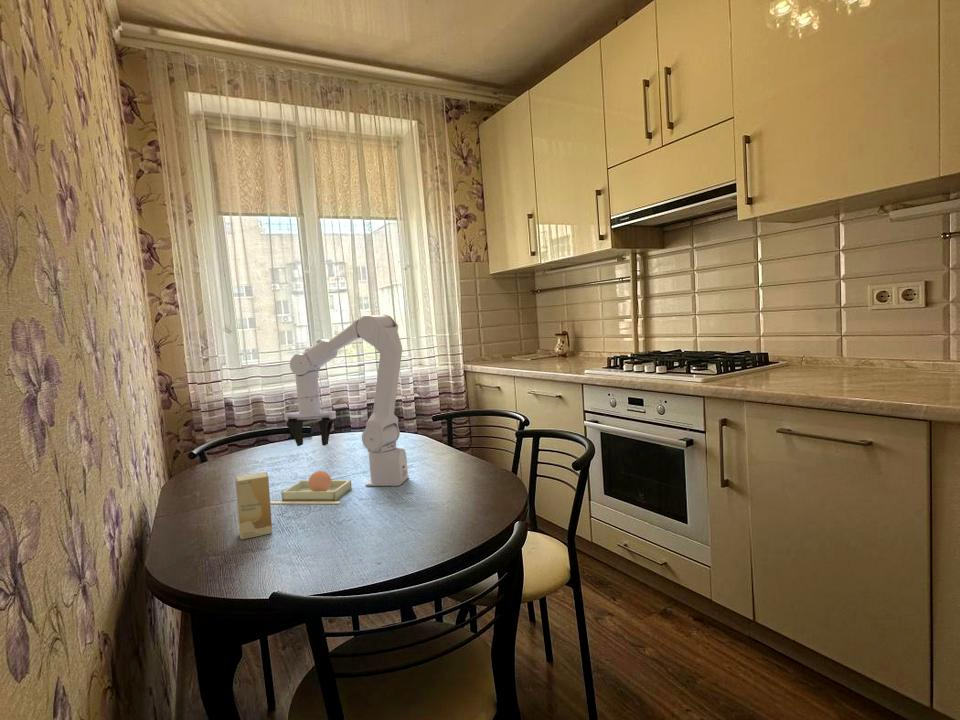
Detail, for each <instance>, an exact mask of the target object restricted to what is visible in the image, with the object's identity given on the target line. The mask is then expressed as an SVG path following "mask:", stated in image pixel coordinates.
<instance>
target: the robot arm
mask: <svg viewBox="0 0 960 720" xmlns="http://www.w3.org/2000/svg"><path fill="white" fill-rule="evenodd" d="M358 339H362V340H364V341H365V342H367V343H368V344H369V345H371V346H372V347H374V348H375V349H376V350H377V352H378V353H379V361H378V368H377V369H378V370H377V376H376V377H377V378H376V386H375V391H374V392H375V394H374V401H373V410H372V413H371V415H370V417H369V418H368V420H366V425H365V429H364V430H363V432H362V434H361V442H362V444H363V446H364V447H365V449H367V452H368V460H369V463H368V464H369V474H370V475H369V476H370V480H368V481H367V482H366V483H365V484H364V485H365V486H367V487H370V486H371V487H373V486H374V487H376V486H377V487H378V486H381V487H382V486H383V487H384V486H385V487H389V486H391V487H392V486H393V487H398V486H401V485H402V484H403V483H404V482H405V481H407V480H408V478H409V477H410V475H409V473H408V459H407V452H406V450H405V449H404V448H398V447H397V441H398V440H399V438H400V435H401V432H400V428H399V417H397V415H395V408H396V401H397V400H396V399H397V392H398V386H399V378H400V371H401V362H402V354H403V345H402V342H401V338H400V336H399V324H398V323H397V322H396V321H395V320H394V318H393V317H392V316H390V315H388V314H381V315H368V314H366V315H365V314H364V315H362V316H361V317H360V318H358V319H356V320H354V321H352V323H351V324H350V325H348V326H347V327H345V329H343V330H341V331H340V332H339V333H338V334H337V335H335V336H334V337H332V338H331V339H327V338H321V339H320V338H319V339H318V340H317V341H316V344H315V345H313V346H312V347H309V348H305V349H304V352H303V353H296V354H294V355H293V356H292V357H291V359H290V361H289V368H290V370H291V372H292V374H294V375H295V384H296V386H295V387H296V395H297V405H298V411H293V412H286V413H284V414H283V415H284V417H283V419H284V421H287V422H285V423H286V426H287V428H288V429H289V431H290V432H291V434H292V436H293V438H294V441H295V443H296V446H297V447H300V446H303V445H304V437H303V436H304V435H303V424H304V421H305V420H318V422H317V423H318V424H317V425H318V428H319V431H320V435H321V436H320V437H321V445H322V446H327V445H328V444H329V438H330V433H331V430H332V427H333V424H334V422H335V419H336V418H337V412H336V410H321V402H320V393H319V379H318V378H319V371H320V370H321V367H323V366H324V365H326V364H327V363H329V362H331V360H333V359H335V358H337V355H338V351H339V350H340V349H342V348H344V347H346V346H348V345H349V344H352V343H353V342H354V341H356V340H358Z"/></svg>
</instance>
